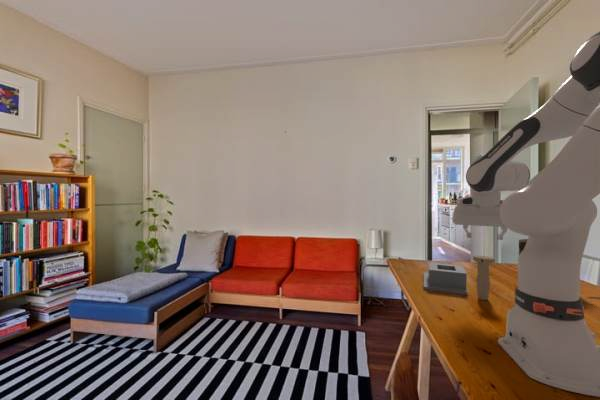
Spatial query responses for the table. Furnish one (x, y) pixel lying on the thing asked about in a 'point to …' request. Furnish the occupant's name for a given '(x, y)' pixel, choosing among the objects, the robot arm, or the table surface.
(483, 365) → the table surface
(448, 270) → the socket block
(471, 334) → the table surface
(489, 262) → the handle
